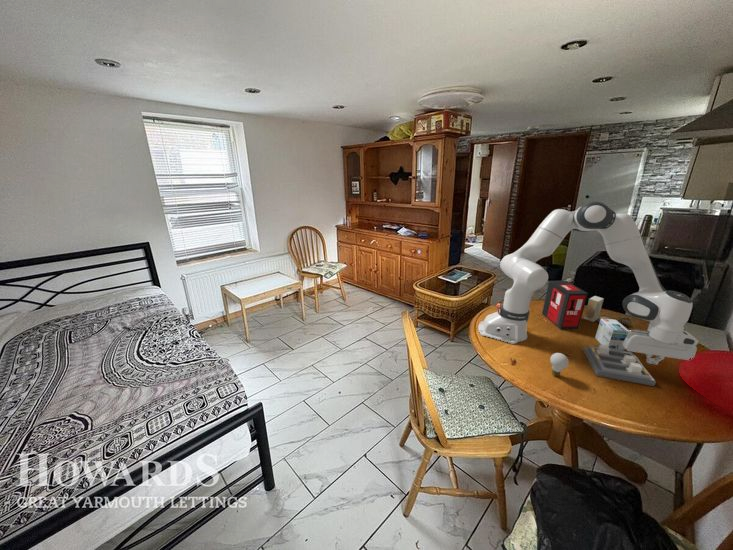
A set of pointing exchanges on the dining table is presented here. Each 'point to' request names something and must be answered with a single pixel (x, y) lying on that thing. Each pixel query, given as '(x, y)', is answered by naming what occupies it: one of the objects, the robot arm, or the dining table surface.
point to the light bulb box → (611, 334)
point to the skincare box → (593, 308)
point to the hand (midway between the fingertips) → (651, 363)
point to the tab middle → (628, 360)
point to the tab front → (634, 368)
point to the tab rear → (603, 349)
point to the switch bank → (616, 366)
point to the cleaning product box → (564, 304)
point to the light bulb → (558, 363)
